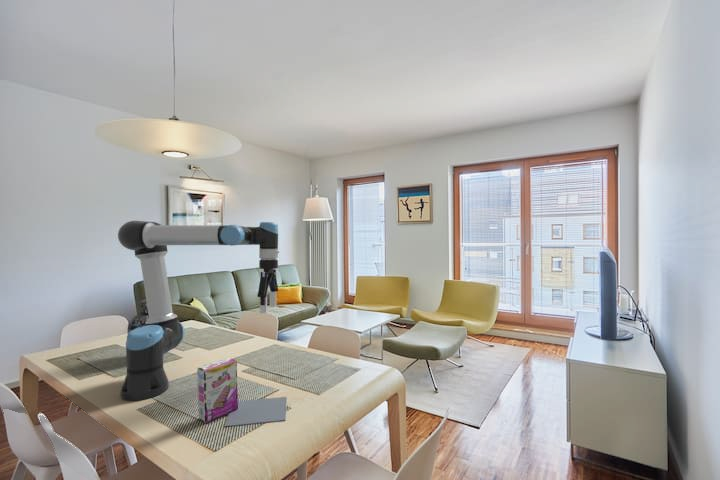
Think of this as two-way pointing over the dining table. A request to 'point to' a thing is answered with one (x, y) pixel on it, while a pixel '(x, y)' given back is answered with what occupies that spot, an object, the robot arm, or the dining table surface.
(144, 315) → the decorative vase
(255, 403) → the mat
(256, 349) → the dining table surface
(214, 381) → the candy bar box
